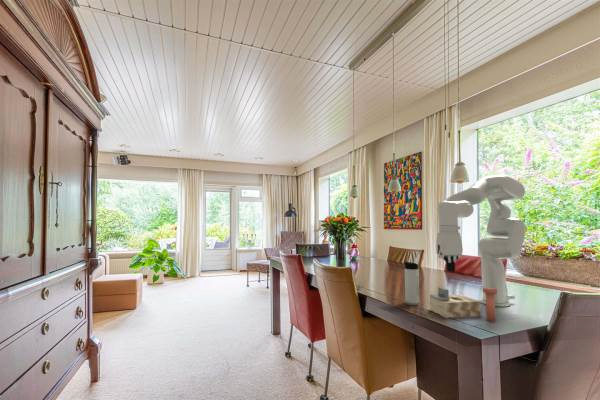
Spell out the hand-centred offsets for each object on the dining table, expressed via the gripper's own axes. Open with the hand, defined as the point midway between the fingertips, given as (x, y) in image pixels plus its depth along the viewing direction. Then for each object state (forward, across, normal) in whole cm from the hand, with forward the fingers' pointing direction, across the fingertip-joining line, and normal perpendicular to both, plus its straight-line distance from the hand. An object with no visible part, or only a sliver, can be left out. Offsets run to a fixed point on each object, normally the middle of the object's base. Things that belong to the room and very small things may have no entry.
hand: (450, 271), depth 129 cm
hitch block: (+18, 0, 0) cm, 18 cm away
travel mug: (+18, +11, -16) cm, 26 cm away
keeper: (+11, +6, 0) cm, 13 cm away
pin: (+18, -8, +11) cm, 23 cm away
